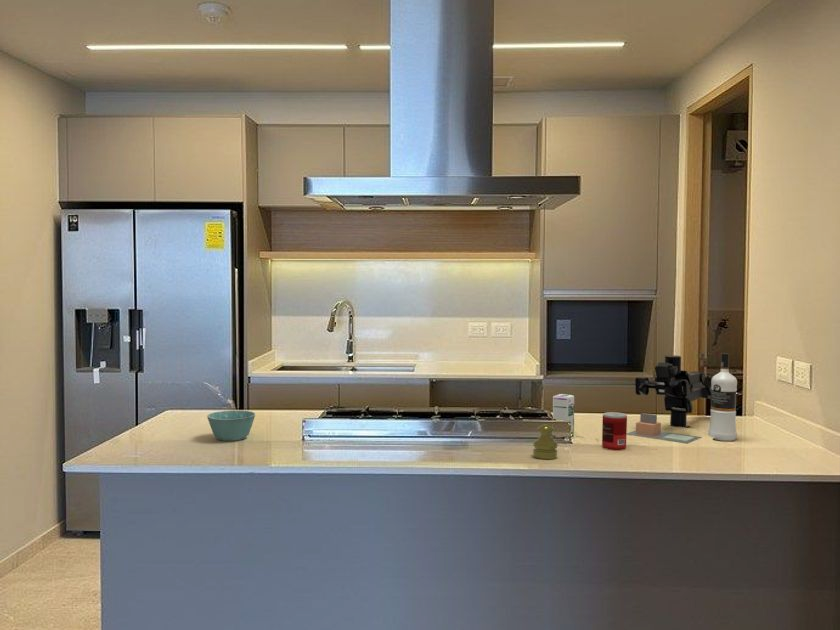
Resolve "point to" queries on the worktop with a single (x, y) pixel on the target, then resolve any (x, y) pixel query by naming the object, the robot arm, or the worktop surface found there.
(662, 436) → the base
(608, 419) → the canned food
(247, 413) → the bowl
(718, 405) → the vodka
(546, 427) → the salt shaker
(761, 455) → the worktop surface
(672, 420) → the robot arm
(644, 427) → the salmon orange block
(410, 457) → the worktop surface
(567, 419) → the syrup box
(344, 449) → the worktop surface
